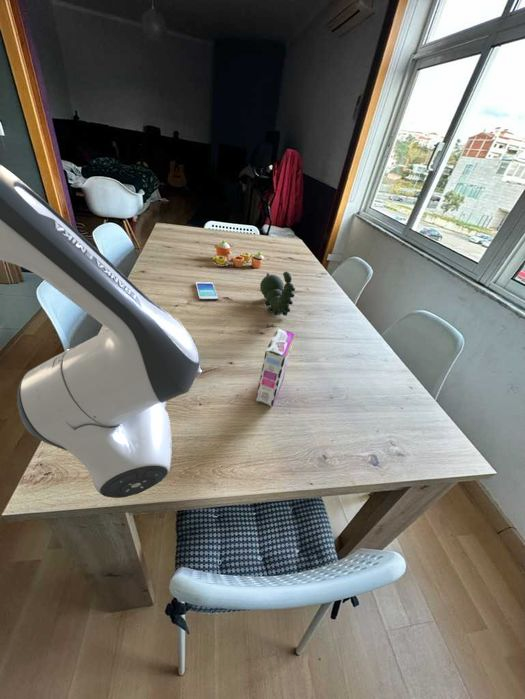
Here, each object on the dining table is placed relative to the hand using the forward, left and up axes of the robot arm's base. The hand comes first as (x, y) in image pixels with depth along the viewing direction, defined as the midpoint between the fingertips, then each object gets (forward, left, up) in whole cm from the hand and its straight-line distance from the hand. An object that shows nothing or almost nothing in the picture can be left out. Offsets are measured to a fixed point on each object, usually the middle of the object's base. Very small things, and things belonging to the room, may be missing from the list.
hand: (132, 335), depth 54 cm
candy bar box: (+31, -6, -22) cm, 39 cm away
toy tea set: (+68, +79, -22) cm, 107 cm away
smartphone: (+39, +53, -22) cm, 69 cm away
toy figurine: (+59, +33, -22) cm, 71 cm away
